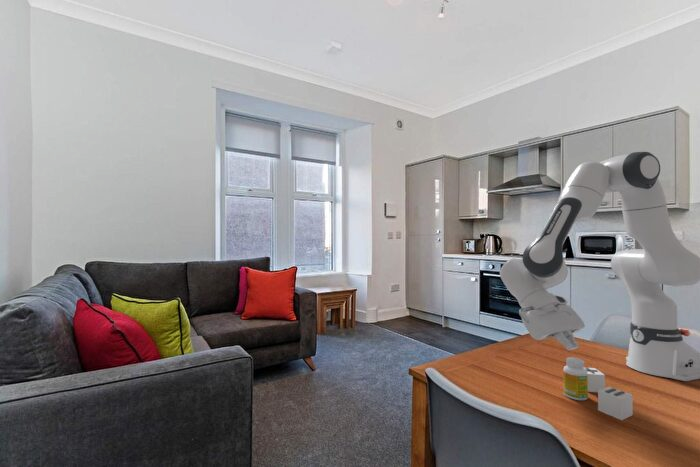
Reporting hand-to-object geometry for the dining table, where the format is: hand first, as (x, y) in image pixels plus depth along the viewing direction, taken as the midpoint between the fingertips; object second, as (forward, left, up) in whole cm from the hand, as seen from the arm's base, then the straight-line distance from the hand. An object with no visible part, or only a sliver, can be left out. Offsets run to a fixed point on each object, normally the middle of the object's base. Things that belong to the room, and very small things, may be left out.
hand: (574, 348), depth 92 cm
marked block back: (-8, -4, -13) cm, 16 cm away
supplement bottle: (0, 0, -13) cm, 13 cm away
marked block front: (-3, +9, -13) cm, 16 cm away
